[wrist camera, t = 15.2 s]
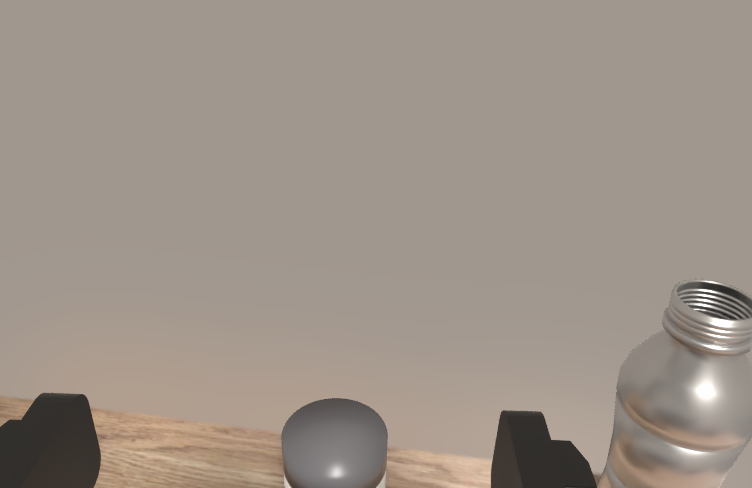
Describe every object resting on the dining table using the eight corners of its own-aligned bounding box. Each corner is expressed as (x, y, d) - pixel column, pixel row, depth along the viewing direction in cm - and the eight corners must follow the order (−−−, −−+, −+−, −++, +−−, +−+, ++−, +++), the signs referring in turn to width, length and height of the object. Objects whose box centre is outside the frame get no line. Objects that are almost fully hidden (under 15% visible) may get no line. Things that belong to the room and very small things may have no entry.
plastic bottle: (571, 519, 43) (636, 254, 33) (681, 551, 41) (784, 278, 31) (563, 609, 37) (638, 321, 28) (690, 650, 35) (817, 356, 26)
